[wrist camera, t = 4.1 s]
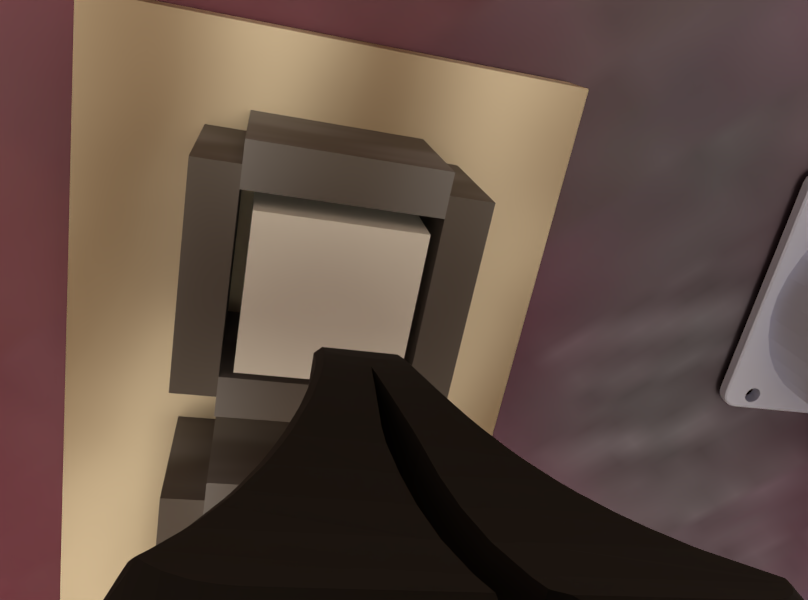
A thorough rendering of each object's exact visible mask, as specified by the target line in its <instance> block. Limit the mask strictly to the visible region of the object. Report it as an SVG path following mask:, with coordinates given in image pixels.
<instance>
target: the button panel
mask: <svg viewBox="0 0 808 600" xmlns="http://www.w3.org/2000/svg"><path fill="white" fill-rule="evenodd" d="M588 90H589V89H587V88H584V87H581V86H578V85H575V84H572V83H569V82H565V81H560V80H555V79H550V78H545V77H540V76H535V75H530V74H525V73H520V72H515V71H510V70H504V69H499V68H494V67H489V66H484V65H479V64H474V63H469V62H464V61H459V60H454V59H449V58H444V57H439V56H434V55H429V54H423V53H418V52H413V51H408V50H403V49H398V48H393V47H388V46H383V45H378V44H373V43H368V42H363V41H358V40H353V39H348V38H342V37H337V36H332V35H327V34H322V33H317V32H312V31H307V30H302V29H297V28H292V27H287V26H282V25H277V24H272V23H267V22H261V21H256V20H251V19H246V18H241V17H236V16H231V15H226V14H221V13H216V12H211V11H206V10H201V9H196V8H191V7H185V6H180V5H175V4H170V3H165V2H160V1H155V0H74V33H73V75H72V117H71V160H70V202H69V244H68V287H67V329H66V371H65V414H64V456H63V498H62V541H61V583H60V600H103V599H104V598H105V596H106V595H107V593H108V592H109V590H110V588H111V587H112V585H113V584H114V582H115V581H116V579H117V577H118V576H119V574H120V573H121V571H122V570H123V568H124V567H125V565H126V564H127V562H128V561H129V560H131V559H132V558H134V557H135V556H137V555H139V554H141V553H143V552H145V551H147V550H149V549H151V548H152V547H154V546H156V545H158V544H159V543H161V542H163V541H165V540H166V539H168V538H170V537H172V536H173V535H175V534H177V533H179V532H180V531H182V530H183V529H185V528H186V527H188V526H189V525H191V524H192V523H193V522H195V521H196V520H197V519H198V518H200V517H201V516H202V515H204V514H205V513H206V512H207V511H209V510H210V509H211V508H212V507H214V506H215V505H216V504H218V503H219V502H220V501H221V500H223V499H224V498H225V497H226V496H227V495H229V494H230V493H231V492H232V491H233V490H234V489H235V488H236V487H237V486H238V485H239V484H240V483H241V482H242V481H243V480H244V479H245V478H246V477H247V476H248V475H249V474H250V473H251V472H252V471H253V470H254V469H255V468H256V467H257V466H258V465H259V463H260V462H261V461H262V460H263V459H264V457H265V456H266V455H267V454H268V453H269V451H270V450H271V449H272V448H273V446H274V445H275V444H276V442H277V441H278V440H279V438H280V437H281V435H282V434H283V433H284V431H285V429H286V428H287V426H288V425H289V423H290V421H291V420H292V418H293V416H294V415H295V413H296V411H297V410H298V408H299V406H300V404H301V402H302V400H303V398H304V396H305V393H306V391H307V389H308V385H309V379H301V378H290V377H279V376H267V375H256V374H245V373H234V372H233V371H234V362H235V352H236V343H237V334H238V324H239V315H240V306H241V298H242V290H243V281H244V273H245V265H246V256H247V248H248V240H249V231H250V223H251V215H252V206H253V198H254V191H255V192H262V193H268V194H275V195H282V196H289V197H296V198H303V199H310V200H317V201H323V202H330V203H337V204H344V205H351V206H358V207H365V208H372V209H378V210H385V211H392V212H399V213H406V214H413V215H418V216H419V217H420V219H421V220H422V222H423V224H424V225H425V227H426V228H427V230H428V232H429V233H430V235H431V236H430V241H429V245H428V250H427V254H426V259H425V264H424V268H423V273H422V278H421V282H420V287H419V291H418V296H417V301H416V305H415V310H414V314H413V319H412V324H411V328H410V333H409V338H408V342H407V347H406V351H405V356H404V360H406V361H407V362H408V363H409V364H410V365H411V366H413V367H414V368H415V369H416V370H417V371H418V372H419V373H420V374H421V375H422V376H423V377H424V378H426V379H427V380H428V381H429V382H430V383H431V384H432V385H433V386H434V387H435V388H436V389H437V390H438V391H440V392H441V393H442V394H443V395H444V396H445V397H446V398H447V399H448V400H449V401H451V402H452V403H453V404H454V405H455V406H456V407H457V408H458V409H460V410H461V411H462V412H463V413H464V414H465V415H467V416H468V417H469V418H470V419H471V420H473V421H474V422H475V423H476V424H477V425H479V426H480V427H481V428H482V429H484V430H485V431H486V432H487V433H489V434H490V435H491V436H492V434H493V431H494V427H495V424H496V420H497V416H498V413H499V409H500V406H501V402H502V399H503V395H504V391H505V388H506V384H507V381H508V377H509V373H510V370H511V366H512V363H513V359H514V355H515V352H516V348H517V345H518V341H519V338H520V334H521V330H522V327H523V323H524V320H525V316H526V312H527V309H528V305H529V302H530V298H531V295H532V291H533V287H534V284H535V280H536V277H537V273H538V269H539V266H540V262H541V259H542V255H543V252H544V248H545V244H546V241H547V237H548V234H549V230H550V226H551V223H552V219H553V216H554V212H555V209H556V205H557V201H558V198H559V194H560V191H561V187H562V183H563V180H564V176H565V173H566V169H567V166H568V162H569V158H570V155H571V151H572V148H573V144H574V140H575V137H576V133H577V130H578V126H579V122H580V119H581V115H582V112H583V108H584V105H585V101H586V97H587V94H588Z"/></svg>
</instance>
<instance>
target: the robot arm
mask: <svg viewBox="0 0 808 600" xmlns="http://www.w3.org/2000/svg"><path fill="white" fill-rule="evenodd" d="M751 389H753V390H752V391H751V393H750V394H748V395H746V393H747V392H748V391H749V390H751ZM720 396H721V398H722V399H723V400H724V401H725V402H726V403H727V404H729V405H731V406H737V407H747V408H758V409H769V410H780V411H790V412H801V413H808V176H807V177H806V179H805V181H804V182H803V184H802V187H801V189H800V192H799V194H798V197H797V199H796V202H795V204H794V207H793V209H792V212H791V214H790V216H789V219H788V221H787V224H786V226H785V229H784V231H783V234H782V236H781V239H780V241H779V244H778V246H777V249H776V251H775V254H774V256H773V259H772V261H771V264H770V266H769V269H768V271H767V273H766V276H765V278H764V281H763V283H762V286H761V288H760V291H759V293H758V296H757V298H756V301H755V303H754V306H753V308H752V311H751V313H750V316H749V318H748V321H747V323H746V326H745V328H744V330H743V333H742V335H741V338H740V340H739V343H738V345H737V348H736V350H735V353H734V355H733V358H732V360H731V363H730V365H729V368H728V370H727V373H726V375H725V378H724V380H723V383H722V385H721V388H720ZM103 600H804V599H803V598H802V597H801V596H800V595H799V593H798V592H797V591H796V590H795V589H794V587H793V586H792V585H791V584H790V583H789V582H788V580H786V579H785V578H783V577H780V576H777V575H774V574H771V573H768V572H765V571H762V570H759V569H756V568H753V567H750V566H747V565H744V564H742V563H739V562H736V561H733V560H730V559H727V558H724V557H721V556H718V555H715V554H712V553H709V552H706V551H703V550H701V549H698V548H696V547H693V546H690V545H688V544H686V543H683V542H681V541H678V540H676V539H674V538H671V537H669V536H666V535H664V534H662V533H659V532H657V531H654V530H652V529H650V528H647V527H645V526H643V525H641V524H639V523H637V522H634V521H632V520H630V519H628V518H626V517H624V516H621V515H619V514H617V513H615V512H613V511H611V510H610V509H608V508H606V507H604V506H602V505H600V504H598V503H596V502H594V501H592V500H590V499H589V498H587V497H585V496H583V495H581V494H579V493H577V492H575V491H574V490H572V489H570V488H568V487H567V486H565V485H563V484H561V483H560V482H558V481H556V480H555V479H553V478H552V477H550V476H549V475H547V474H545V473H544V472H542V471H541V470H539V469H538V468H536V467H535V466H533V465H531V464H530V463H528V462H527V461H525V460H524V459H522V458H521V457H519V456H518V455H517V454H515V453H514V452H512V451H511V450H510V449H508V448H507V447H505V446H504V445H503V444H502V443H500V442H499V441H498V440H496V439H495V438H494V437H493V436H491V435H490V434H489V433H487V432H486V431H485V430H484V429H482V428H481V427H480V426H479V425H477V424H476V423H475V422H474V421H473V420H471V419H470V418H469V417H468V416H467V415H465V414H464V413H463V412H462V411H461V410H460V409H458V408H457V407H456V406H455V405H454V404H453V403H452V402H451V401H449V400H448V399H447V398H446V397H445V396H444V395H443V394H442V393H441V392H440V391H438V390H437V389H436V388H435V387H434V386H433V385H432V384H431V383H430V382H429V381H428V380H427V379H426V378H424V377H423V376H422V375H421V374H420V373H419V372H418V371H417V370H416V369H415V368H414V367H413V366H411V365H410V364H409V363H408V362H407V361H406V360H404V359H403V358H402V357H401V356H399V355H397V354H388V353H378V352H368V351H358V350H348V349H338V348H328V347H321V348H320V349H318V350H317V351H316V352H314V354H313V360H312V367H311V373H310V379H309V385H308V389H307V391H306V393H305V396H304V398H303V400H302V402H301V404H300V406H299V408H298V410H297V411H296V413H295V415H294V416H293V418H292V420H291V421H290V423H289V425H288V426H287V428H286V429H285V431H284V433H283V434H282V435H281V437H280V438H279V440H278V441H277V442H276V444H275V445H274V446H273V448H272V449H271V450H270V451H269V453H268V454H267V455H266V456H265V457H264V459H263V460H262V461H261V462H260V463H259V465H258V466H257V467H256V468H255V469H254V470H253V471H252V472H251V473H250V474H249V475H248V476H247V477H246V478H245V479H244V480H243V481H242V482H241V483H240V484H239V485H238V486H237V487H236V488H235V489H234V490H233V491H232V492H231V493H230V494H229V495H227V496H226V497H225V498H224V499H223V500H221V501H220V502H219V503H218V504H216V505H215V506H214V507H212V508H211V509H210V510H209V511H207V512H206V513H205V514H204V515H202V516H201V517H200V518H198V519H197V520H196V521H195V522H193V523H192V524H191V525H189V526H188V527H186V528H185V529H183V530H182V531H180V532H179V533H177V534H175V535H173V536H172V537H170V538H168V539H166V540H165V541H163V542H161V543H159V544H158V545H156V546H154V547H152V548H151V549H149V550H147V551H145V552H143V553H141V554H139V555H137V556H135V557H134V558H132V559H131V560H129V561H128V562H127V564H126V565H125V567H124V568H123V570H122V571H121V573H120V574H119V576H118V577H117V579H116V581H115V582H114V584H113V585H112V587H111V588H110V590H109V592H108V593H107V595H106V596H105V598H104V599H103Z"/></svg>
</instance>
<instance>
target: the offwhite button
mask: <svg viewBox="0 0 808 600" xmlns="http://www.w3.org/2000/svg"><path fill="white" fill-rule="evenodd" d="M430 236H431V235H430V233H429V232H428V230H427V228H426V227H425V225H424V224H423V222H422V220H421V219H420V217H419V216H418V215H413V214H406V213H399V212H392V211H385V210H378V209H372V208H365V207H358V206H351V205H344V204H337V203H330V202H323V201H317V200H310V199H303V198H296V197H289V196H282V195H275V194H268V193H262V192H255V191H254V198H253V206H252V215H251V223H250V231H249V240H248V248H247V256H246V265H245V273H244V281H243V290H242V298H241V306H240V315H239V324H238V334H237V343H236V352H235V362H234V371H233V372H234V373H245V374H256V375H267V376H279V377H290V378H301V379H310V373H311V367H312V360H313V354H314V352H316V351H317V350H318V349H320V348H321V347H328V348H338V349H348V350H358V351H368V352H378V353H388V354H397V355H399V356H401V357H402V358H403V359H404V356H405V351H406V347H407V342H408V338H409V333H410V328H411V324H412V319H413V314H414V310H415V305H416V301H417V296H418V291H419V287H420V282H421V278H422V273H423V268H424V264H425V259H426V254H427V250H428V245H429V241H430Z"/></svg>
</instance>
